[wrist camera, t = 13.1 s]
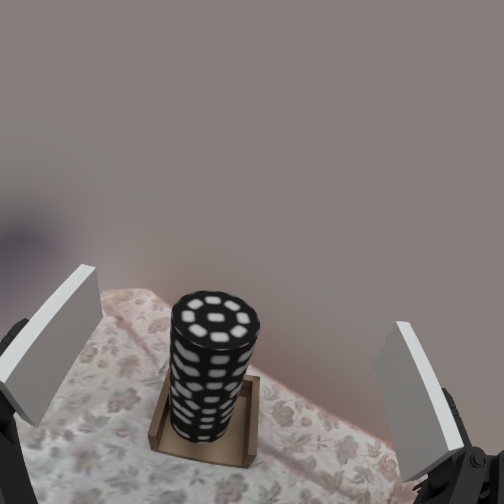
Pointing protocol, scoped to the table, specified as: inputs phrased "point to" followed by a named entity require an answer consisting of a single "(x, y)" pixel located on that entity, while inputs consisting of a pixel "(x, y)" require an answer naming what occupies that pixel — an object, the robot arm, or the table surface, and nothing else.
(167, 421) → the tray
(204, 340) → the white-spotted black cylinder
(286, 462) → the table surface
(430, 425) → the robot arm
